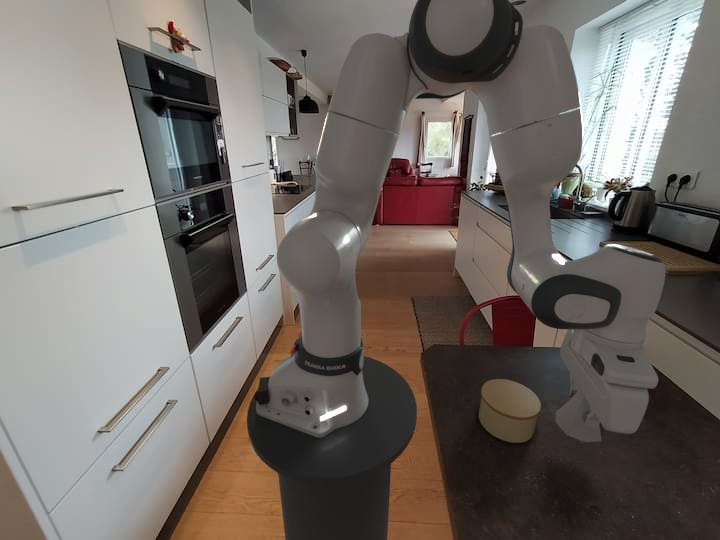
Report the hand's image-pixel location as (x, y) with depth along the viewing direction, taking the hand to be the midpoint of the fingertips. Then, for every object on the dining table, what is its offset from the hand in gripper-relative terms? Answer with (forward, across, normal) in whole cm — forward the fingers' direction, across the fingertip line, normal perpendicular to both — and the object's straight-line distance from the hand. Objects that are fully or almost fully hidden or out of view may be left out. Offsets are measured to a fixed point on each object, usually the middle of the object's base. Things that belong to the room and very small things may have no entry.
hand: (582, 411), depth 57 cm
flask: (+4, 0, 0) cm, 4 cm away
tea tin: (+7, -2, -11) cm, 13 cm away
